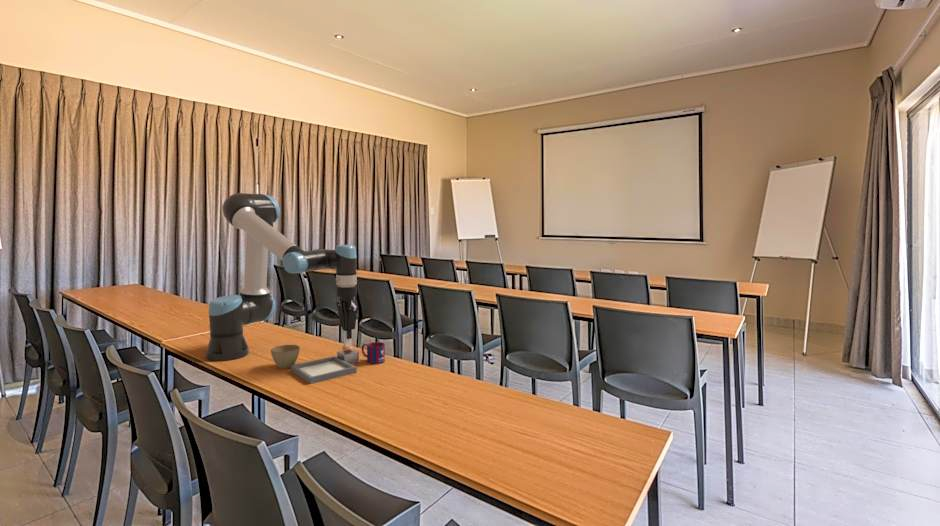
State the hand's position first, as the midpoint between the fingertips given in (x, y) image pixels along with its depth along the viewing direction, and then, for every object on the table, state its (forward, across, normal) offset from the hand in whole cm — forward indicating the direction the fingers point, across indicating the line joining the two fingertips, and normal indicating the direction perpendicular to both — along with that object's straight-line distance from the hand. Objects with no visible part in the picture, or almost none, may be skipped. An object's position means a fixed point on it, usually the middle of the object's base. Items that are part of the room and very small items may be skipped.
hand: (347, 346), depth 178 cm
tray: (+6, +4, -12) cm, 14 cm away
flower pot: (+6, -10, -20) cm, 23 cm away
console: (+6, 0, 0) cm, 6 cm away
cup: (+6, +5, +8) cm, 11 cm away
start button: (+4, 0, 0) cm, 4 cm away
